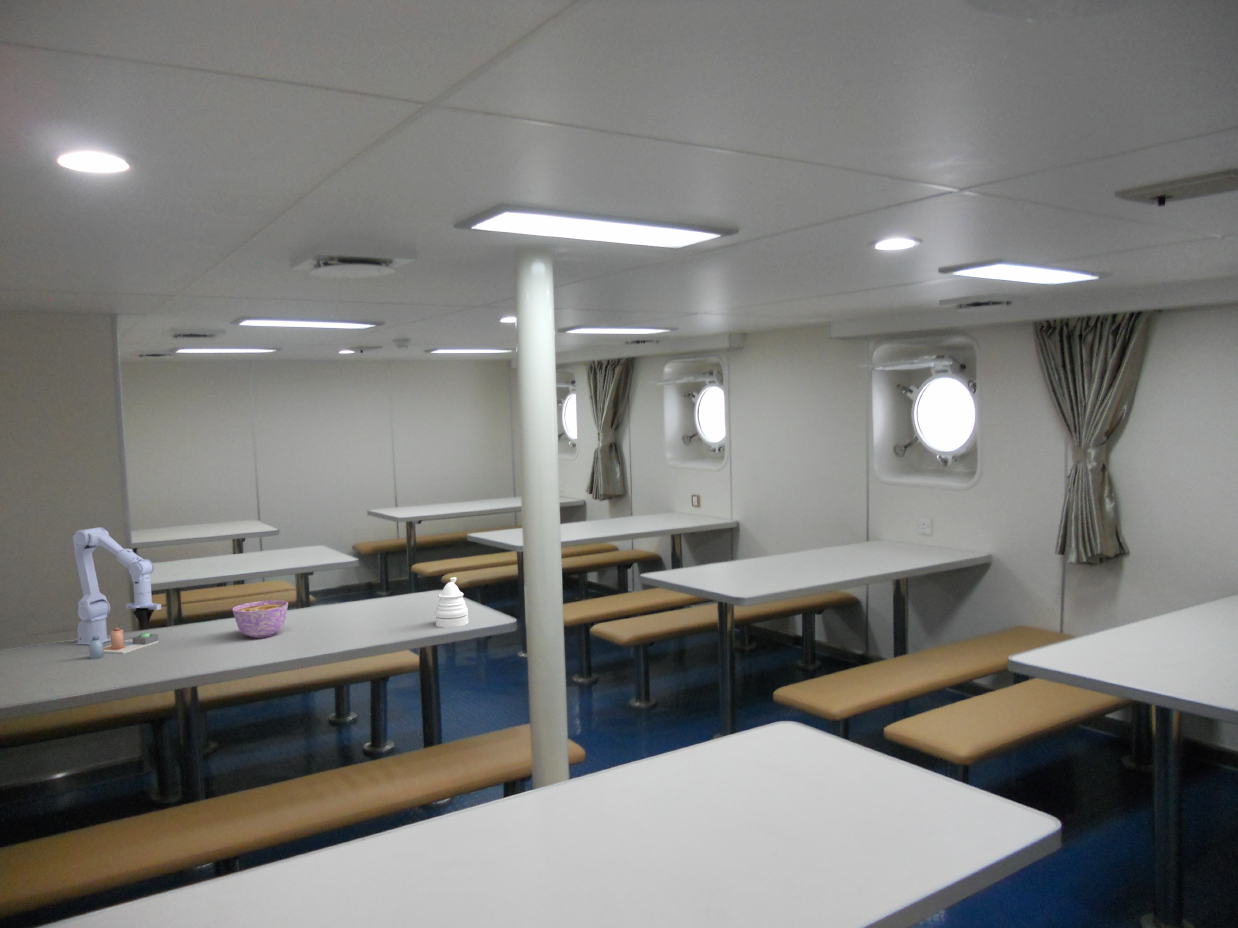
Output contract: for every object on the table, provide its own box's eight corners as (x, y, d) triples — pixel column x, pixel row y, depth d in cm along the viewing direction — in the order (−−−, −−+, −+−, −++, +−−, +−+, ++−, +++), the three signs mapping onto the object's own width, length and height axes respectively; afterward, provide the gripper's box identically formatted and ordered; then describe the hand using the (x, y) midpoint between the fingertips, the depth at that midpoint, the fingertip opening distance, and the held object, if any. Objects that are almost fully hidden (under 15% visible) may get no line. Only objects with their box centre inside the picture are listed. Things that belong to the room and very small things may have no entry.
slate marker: (87, 658, 295) (86, 638, 295) (97, 655, 299) (96, 635, 299) (96, 659, 294) (95, 638, 294) (106, 656, 298) (104, 635, 298)
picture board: (92, 651, 305) (92, 643, 305) (129, 640, 320) (128, 632, 320) (123, 653, 301) (122, 645, 301) (158, 642, 316) (158, 634, 316)
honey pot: (449, 618, 340) (447, 575, 339) (475, 621, 334) (473, 576, 333) (429, 625, 328) (427, 580, 327) (455, 628, 322) (453, 582, 321)
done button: (139, 642, 313) (138, 634, 313) (145, 640, 316) (145, 632, 316) (145, 642, 312) (145, 634, 312) (152, 640, 315) (151, 632, 315)
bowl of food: (291, 626, 334) (290, 598, 334) (287, 638, 315) (286, 608, 315) (237, 632, 328) (235, 603, 328) (230, 644, 309) (228, 613, 309)
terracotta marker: (108, 649, 305) (107, 628, 305) (117, 646, 309) (116, 626, 309) (117, 649, 304) (116, 629, 304) (126, 646, 308) (125, 626, 308)
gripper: (118, 593, 311) (120, 629, 312) (149, 595, 308) (151, 631, 308) (133, 590, 318) (135, 625, 319) (164, 591, 314) (166, 626, 315)
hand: (144, 627), depth 314 cm, fingers closed
